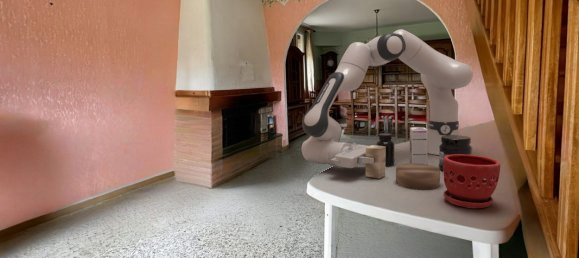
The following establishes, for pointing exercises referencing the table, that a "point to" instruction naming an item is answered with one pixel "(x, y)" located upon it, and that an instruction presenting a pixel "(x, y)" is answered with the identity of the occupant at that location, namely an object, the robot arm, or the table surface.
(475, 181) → the plant pot
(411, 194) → the table surface
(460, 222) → the table surface
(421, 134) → the syrup box
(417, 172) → the walnut plinth
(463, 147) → the supplement container
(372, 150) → the ash block
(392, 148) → the supplement bottle
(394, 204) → the table surface
